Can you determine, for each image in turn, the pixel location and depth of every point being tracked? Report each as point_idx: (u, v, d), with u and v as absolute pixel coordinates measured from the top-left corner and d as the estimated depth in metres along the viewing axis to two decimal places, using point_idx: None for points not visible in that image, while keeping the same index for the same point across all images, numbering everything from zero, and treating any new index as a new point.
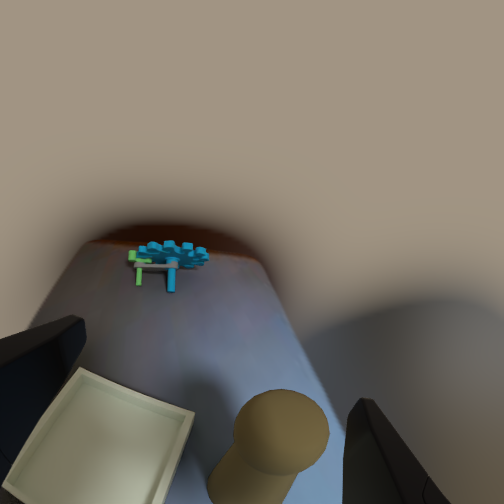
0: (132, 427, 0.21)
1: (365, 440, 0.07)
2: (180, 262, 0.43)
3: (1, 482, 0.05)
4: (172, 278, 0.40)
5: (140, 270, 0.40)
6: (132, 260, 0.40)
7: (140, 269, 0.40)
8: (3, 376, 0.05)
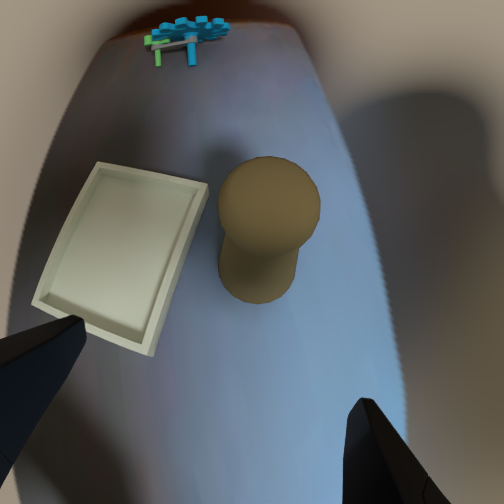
0: (148, 208, 0.25)
1: (365, 440, 0.07)
2: (201, 35, 0.33)
3: (1, 482, 0.05)
4: (192, 52, 0.32)
5: (158, 51, 0.32)
6: (148, 44, 0.31)
7: (158, 51, 0.32)
8: (3, 377, 0.05)
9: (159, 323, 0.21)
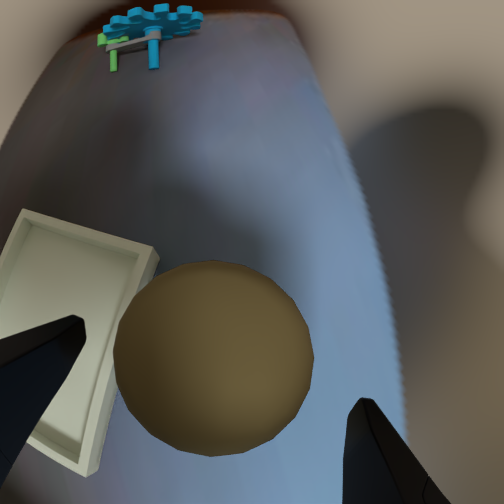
0: (79, 278, 0.17)
1: (365, 440, 0.07)
2: (167, 30, 0.25)
3: (1, 482, 0.05)
4: (153, 51, 0.24)
5: (114, 53, 0.24)
6: (102, 44, 0.24)
7: (113, 52, 0.24)
8: (3, 376, 0.05)
9: (96, 441, 0.13)
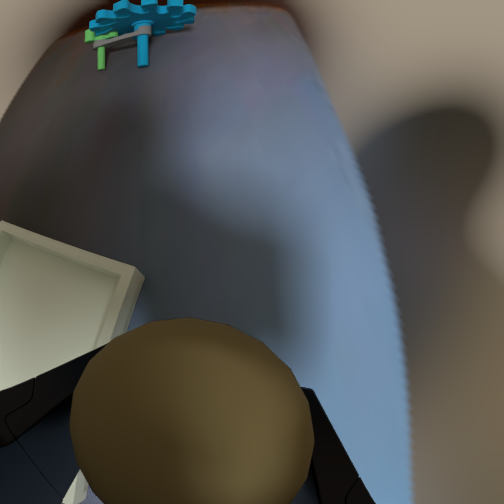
0: (59, 298, 0.15)
1: None
2: (158, 25, 0.22)
3: None
4: (142, 47, 0.22)
5: (101, 50, 0.22)
6: (90, 41, 0.21)
7: (101, 48, 0.22)
8: (60, 413, 0.05)
9: (81, 472, 0.11)
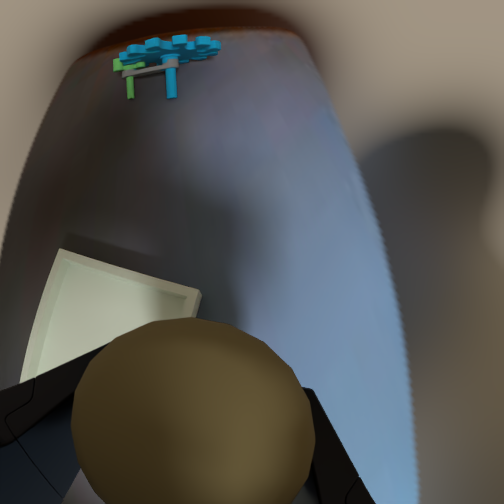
0: (127, 317, 0.19)
1: None
2: (184, 56, 0.26)
3: None
4: (171, 80, 0.26)
5: (130, 79, 0.26)
6: (118, 70, 0.25)
7: (130, 78, 0.26)
8: (60, 412, 0.05)
9: None
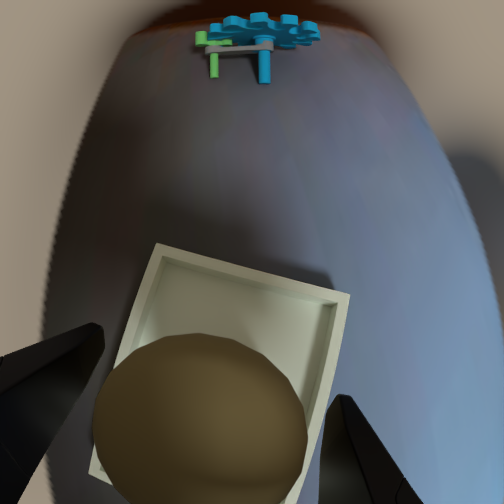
0: (256, 329, 0.17)
1: (340, 437, 0.07)
2: (276, 41, 0.24)
3: (19, 496, 0.05)
4: (266, 64, 0.23)
5: (215, 56, 0.24)
6: (202, 44, 0.23)
7: (215, 55, 0.24)
8: (23, 390, 0.05)
9: (296, 494, 0.13)
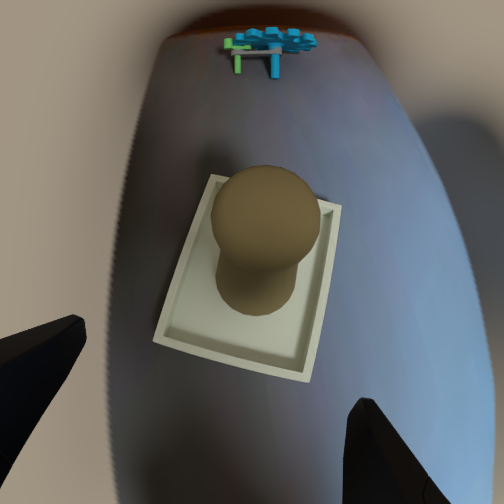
0: None
1: (365, 440, 0.07)
2: (284, 47, 0.32)
3: (1, 482, 0.05)
4: (276, 64, 0.32)
5: (238, 57, 0.32)
6: (228, 48, 0.31)
7: (238, 56, 0.32)
8: (4, 376, 0.05)
9: None
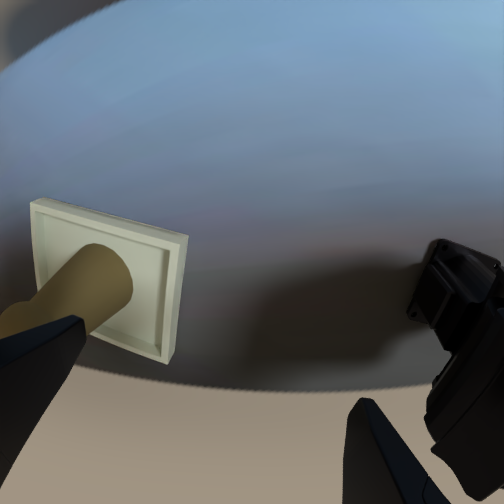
0: (63, 254, 0.23)
1: (365, 440, 0.07)
2: None
3: (1, 482, 0.05)
4: None
5: None
6: None
7: None
8: (4, 376, 0.05)
9: (149, 232, 0.20)
